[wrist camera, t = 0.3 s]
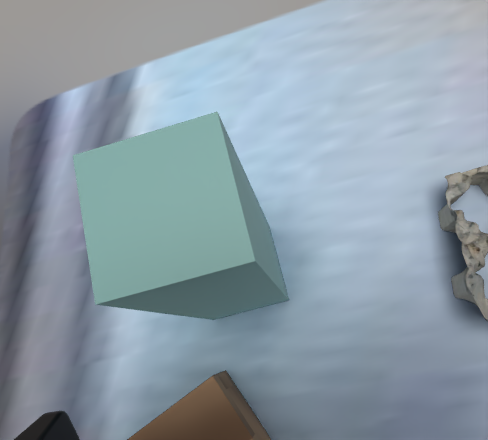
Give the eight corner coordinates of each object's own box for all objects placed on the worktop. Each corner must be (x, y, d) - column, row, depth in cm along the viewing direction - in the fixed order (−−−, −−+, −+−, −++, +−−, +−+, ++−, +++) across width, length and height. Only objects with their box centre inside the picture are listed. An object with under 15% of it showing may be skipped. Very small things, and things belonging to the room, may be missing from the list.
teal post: (289, 299, 23) (255, 260, 11) (213, 319, 23) (95, 304, 11) (269, 226, 24) (217, 111, 12) (197, 246, 24) (72, 155, 12)
